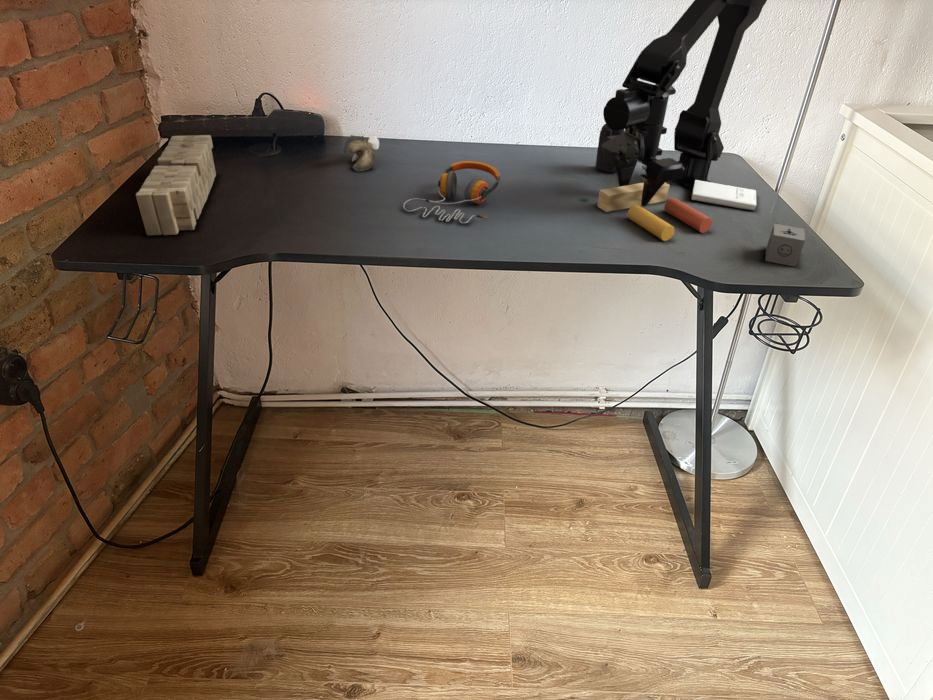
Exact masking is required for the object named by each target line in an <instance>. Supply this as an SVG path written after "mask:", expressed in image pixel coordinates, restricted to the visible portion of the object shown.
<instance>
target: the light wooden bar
mask: <svg viewBox="0 0 933 700" xmlns="http://www.w3.org/2000/svg"><path fill="white" fill-rule="evenodd" d="M643 185H644V182H639V183H638V182H637V183H633V184H629V185H626V186H621V187H619V186H615V187H610V188H603V189H599V194H598V200H597V208H599V209H600V210H602V211H603V212H605V213H609V212H615V211H621V210H625V209H630V208H631V207H632V206H633V205H639V206H641V207H643V206H642V205H641V200H642V192H643ZM669 189H670V184H669V183H668V182H665V183H664V184H663V185H662V186H661V187H660V189H659V190H658V191H657V192H656V194H655V195H654V196H653V198H652V199H651V200H650V202H649V203H648V204H647V205H646V206H648V205H652V204H653V205H654V204H658V203H663V202H667V200H668V194H669Z"/></svg>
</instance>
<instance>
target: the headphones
mask: <svg viewBox="0 0 933 700" xmlns="http://www.w3.org/2000/svg"><path fill="white" fill-rule="evenodd" d="M468 169H469V170H477V171H483V172H486V173H488V174H490V175H492V176H493V177H494V179H495V181H494V182H493V184H492V185H491V186H489V184H488V182H486V181H485V179H484V178H483V177H481V176H474V177H472V179H470V180H469V182H468V184H467V185H466V188H465V191H464V198H465V199H463V200H460V201H455V202H444V201H445V200H446V197H447V198H448V199H449V200H451V199H452V200H453V199H454V198H455V197H456V195H457V189H458V177H457V173H456V171H459V170H468ZM500 181H501V175H500V172H499V170H498V169H497V168H496V167H494V166H492V165H491V164H488V163H486V162H480V161H475V160H463V161H457V162H453V163H452V164H450V165H449V166H447V168H445V169H444V171H443V172H442V174H441V175H440V179H439V180H438V182H437V191H438V194H439V195H440V197H442V198H443V199H442V200H441V199H440V200H430V199H428V198H426V199H425V198H418V197H414V198H410V199H407V200H405V202H403V206H402V207H403V209H404V211H406V212H408V213H412V212H415V211H417V210H421V209H425V210H424V211H423V214H422V218H427V216H429V215H430V214H431V212H433V210H434V209H436V208H438V209H437V210H436V211H435V212H434V215H435V216H439V215H440V216H439V217H438V221H440V222H443V221H444V220H445V222H446V223H449V222H450V221H451V219H452V218H453V217H454V218H453V220H454V221H456V220H458V222H459V223H460V224H468V223H469V222H470V221H471V220H472V218H474V217H476V218H479V219H484V220H485V219H487V218H488V217H486V216H483V215H480V214H473V215H471V216H470V217H469V219H468V220H467V221H461V220H462V218H463V217H464V215H465V212H461V211H462V209H460V208H457V209H455V210H454V211H453V213H452V214H450V213H447V214H446V215H445V213H446V209H441V206H440V205H456V204H461V203H463V202H467V203H468V204H471V205H475V204H478V205H481V204H482V203H483V202H484V201H485V200H486V199H487V197H488V195H490V194H492V192H493V191H495V189H496V188H497V187H498V186H499V183H500ZM415 200H419V201H424V202H426V203H433V204H439V205H434V206H433V207H432V208H431V209H430V210H429V211H428V208H427V207H426V206H419V207H416V208H415V209H411V210H408V209H407V208H406V207H405V205H406V204H407V203H408V202H410V201H415ZM440 209H441V211H440ZM427 211H428V212H427ZM457 211H458V212H457ZM456 212H457V213H456ZM454 214H455V215H454ZM444 215H445V216H444ZM441 218H442V219H441Z"/></svg>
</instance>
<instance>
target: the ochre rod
mask: <svg viewBox="0 0 933 700" xmlns="http://www.w3.org/2000/svg"><path fill="white" fill-rule="evenodd" d="M627 218H628V219H629V220H631V222H633V223H635V224H637V225H638V226H640V227H641V228H643V229H644V230H646V231H648V232H649V233H651V234H652V235H653V236H655V237H657V238H658V239H660V240H661V241H663V242H667V241H669V240H670V239H671V238H672V237H673V235H674V234H675V227H674V226H673V225H671V224H670V223H668V222H667V221H665V220H663V219H662V218H660V217H659V216H657V215H656V214H654V213H652V212H650V211H648V210H647V209H646V208H644V207H643V206H639V205H633V206H632V207H631V208H628V212H627Z"/></svg>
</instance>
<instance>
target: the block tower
mask: <svg viewBox="0 0 933 700" xmlns="http://www.w3.org/2000/svg"><path fill="white" fill-rule="evenodd" d="M213 148H214V145H213V139H212V135H211V134H201V135H196V134H195V135H172V136H171V137H170V139H169V141H168V143H167V146H166V147H165V148H164V150H163V151H162V152H161V155H160V156H159V157H158V159H157V164H158V165H155V166H154V167H153V169H152V170H150V173H149V175H148V176H147V178H145V180H144V182H143V183H142V185H141V187H140V189H139V191H137V192H136V193H135V198H136V201H137V206H138V208H139V211H140V212H139V213H140V215H141V219H142V223H143V226H144V230H145V233H146V235H147V236H161V235H163V236H174V235H175V236H176V235H178V234H179V232H180V231H194V230H195V229H196V225H197V221H198V220H199V218H200V216H201V214H202V211H203V209H204V206H205V203H206V202H207V200H208V198H209V194H210V192H211V189H212V187H213V184H214V182H215V178H216V177H217V171H216V166H215V162H214V156H213V151H212V150H213Z"/></svg>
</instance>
